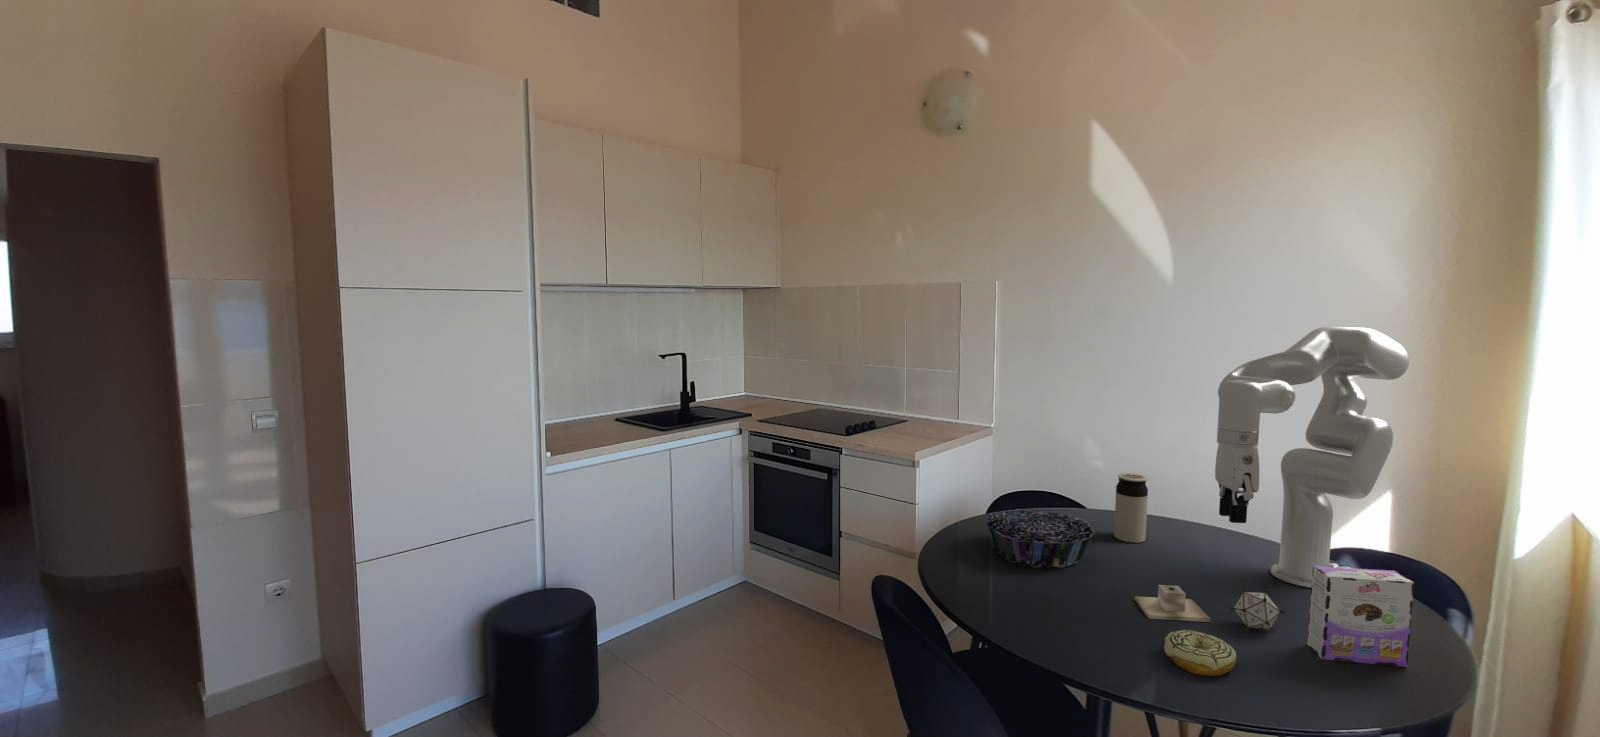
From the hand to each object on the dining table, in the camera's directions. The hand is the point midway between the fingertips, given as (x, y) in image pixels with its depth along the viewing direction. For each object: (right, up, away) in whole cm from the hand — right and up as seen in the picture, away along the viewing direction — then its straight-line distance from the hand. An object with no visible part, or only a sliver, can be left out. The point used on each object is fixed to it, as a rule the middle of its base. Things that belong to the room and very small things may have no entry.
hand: (1232, 518), depth 147 cm
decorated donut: (-21, -22, -22) cm, 37 cm away
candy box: (+10, -22, -21) cm, 32 cm away
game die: (-2, -21, -10) cm, 23 cm away
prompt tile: (-15, -20, -2) cm, 25 cm away
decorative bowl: (-32, -17, +31) cm, 47 cm away
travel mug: (-2, -15, +42) cm, 44 cm away
